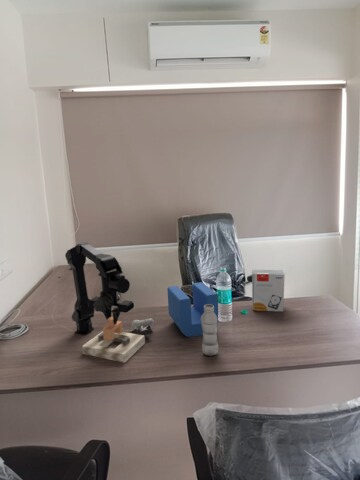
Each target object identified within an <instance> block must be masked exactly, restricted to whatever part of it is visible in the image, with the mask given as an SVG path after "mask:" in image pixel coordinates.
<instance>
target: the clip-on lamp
mask: <svg viewBox="0 0 360 480" xmlns="http://www.w3.org/2000/svg"><path fill="white" fill-rule="evenodd" d="M154 323H155V321H154V319H153V318H147V319H141V320H139V319H134V320H132V323H131V324H130V325H131V326H130V327H131V328H132V329H131V330H130V329H126V328H122V329H123V331H125V332H126V331H127V332H132V331H134V334H138V335H144V336H145V337H146V336H148V335H152V334H153V328H152V326H153V325H154Z"/></svg>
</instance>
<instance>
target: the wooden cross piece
mask: <svg viewBox="0 0 360 480" xmlns="http://www.w3.org/2000/svg"><path fill="white" fill-rule="evenodd" d="M106 322H107V325H105V326H103V328H102V331H103V337H104V339H105V340H111V341H112V340H113V339H115V336H114V333H117V334H121V333H122V332H124V330H123V329H124V328H123V321H121V320H117V323H116V324H114V321H113V315H111V317H110V318H108V319H106Z"/></svg>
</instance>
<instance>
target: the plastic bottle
mask: <svg viewBox="0 0 360 480" xmlns="http://www.w3.org/2000/svg"><path fill="white" fill-rule="evenodd" d="M204 311H205V312H204V313H203V315H202V316H201V324H202V330H203V335H202V344H201V350H202V353H203V354H204V355H205V356H208V357H212V356H216V355H217V354H218V352H219V348H220V347H219V343H218V336H217V335H218V334H217V333H218V332H217V331H218V330H217V329H218V325H217V320H218V319H219V318H218V319H217V316H216V315H215V313H214V312H213V311H214V306H213V305H210V304H208V305H205V306H204ZM218 321H219V320H218Z"/></svg>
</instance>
